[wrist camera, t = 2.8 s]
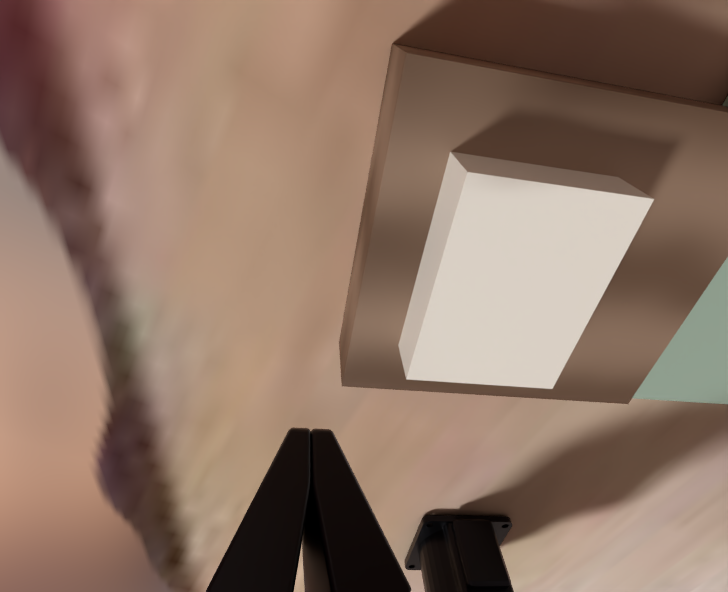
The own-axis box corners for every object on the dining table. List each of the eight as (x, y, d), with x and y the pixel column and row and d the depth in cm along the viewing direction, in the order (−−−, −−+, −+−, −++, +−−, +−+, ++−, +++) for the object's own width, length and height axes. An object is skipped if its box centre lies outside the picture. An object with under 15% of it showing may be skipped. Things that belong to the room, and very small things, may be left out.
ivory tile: (532, 355, 20) (552, 389, 18) (398, 345, 19) (406, 379, 17) (618, 177, 15) (654, 199, 14) (450, 151, 14) (467, 172, 13)
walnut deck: (596, 362, 25) (627, 403, 22) (339, 342, 22) (341, 386, 20) (743, 109, 18) (814, 128, 15) (392, 43, 15) (406, 52, 13)
